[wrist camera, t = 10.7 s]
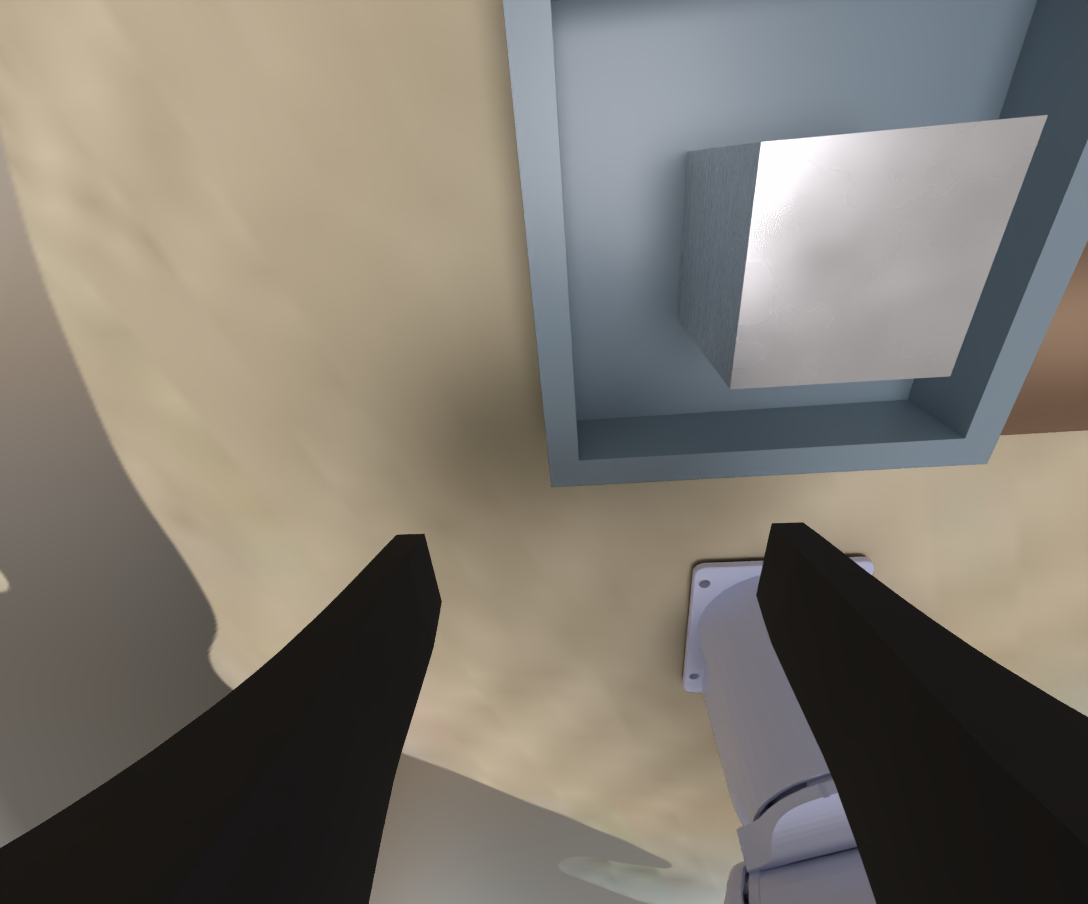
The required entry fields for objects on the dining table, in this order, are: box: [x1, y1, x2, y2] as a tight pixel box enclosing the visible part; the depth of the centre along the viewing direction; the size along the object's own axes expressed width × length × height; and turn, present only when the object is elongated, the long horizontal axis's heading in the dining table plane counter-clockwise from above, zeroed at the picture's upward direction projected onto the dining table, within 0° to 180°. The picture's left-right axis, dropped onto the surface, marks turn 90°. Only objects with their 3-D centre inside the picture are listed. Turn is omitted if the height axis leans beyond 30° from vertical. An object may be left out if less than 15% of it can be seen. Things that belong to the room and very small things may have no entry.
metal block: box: [677, 115, 1048, 389], centre depth 12 cm, size 5×5×6 cm
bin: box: [503, 0, 1088, 487], centre depth 14 cm, size 14×14×4 cm
